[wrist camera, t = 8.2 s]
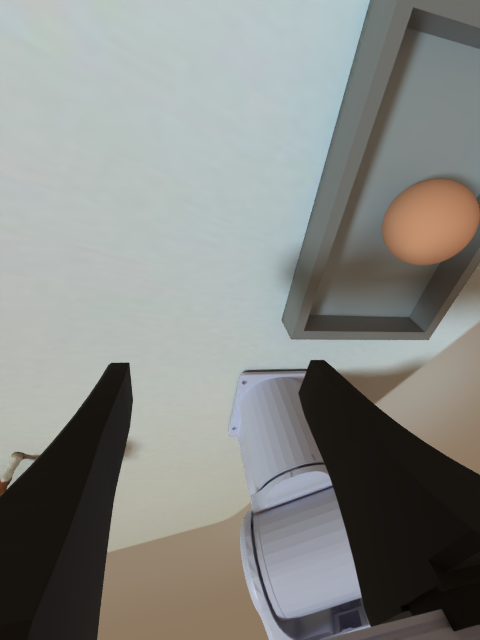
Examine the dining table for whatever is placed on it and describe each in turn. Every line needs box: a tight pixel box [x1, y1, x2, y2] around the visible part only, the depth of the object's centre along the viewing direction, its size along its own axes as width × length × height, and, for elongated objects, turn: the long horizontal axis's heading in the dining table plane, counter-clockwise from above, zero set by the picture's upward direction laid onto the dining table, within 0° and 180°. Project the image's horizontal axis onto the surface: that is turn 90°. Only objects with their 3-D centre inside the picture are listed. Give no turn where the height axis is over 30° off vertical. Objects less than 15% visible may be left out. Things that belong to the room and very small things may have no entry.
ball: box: [382, 179, 480, 265], centre depth 18 cm, size 5×5×5 cm
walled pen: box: [282, 0, 480, 340], centre depth 19 cm, size 19×13×2 cm
